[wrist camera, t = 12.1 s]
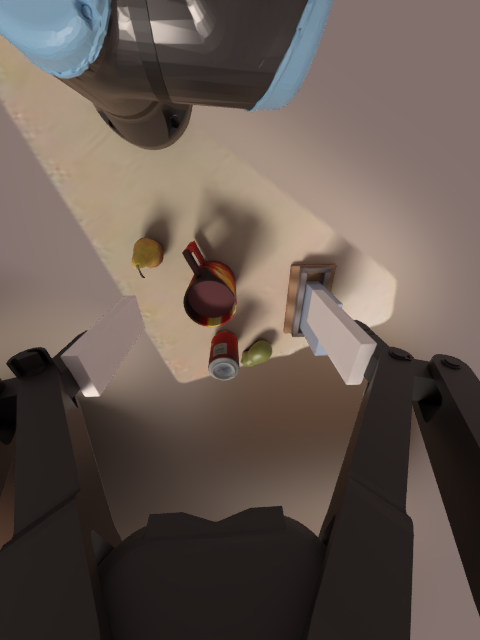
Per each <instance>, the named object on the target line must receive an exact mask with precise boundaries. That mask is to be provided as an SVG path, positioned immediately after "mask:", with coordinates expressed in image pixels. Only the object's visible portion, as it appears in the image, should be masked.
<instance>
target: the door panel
mask: <svg viewBox="0 0 480 640" xmlns="http://www.w3.org/2000/svg"><path fill="white" fill-rule="evenodd" d="M312 290H323V291H324V292H325V293H326V294H327V295H328V296H329V297H330V298H331V299H332V300H333V301H334V302H335V303H336V304H337V305H338V306H339V307H341V308H342V306H343V304H342V303H341V302H340V301H339V300H338V299H337V298H336V297H335V296H333V295H332V294H331V293H330V292H329V291H328V290H327V289H326V288H325V287H324V286H323V285H322V284H321V283H320V282H319V281H309V282H306V285H305V292H304V298H303V304H302V310H301V317H300V323H299V327H300V329H301V331H302V332H303V334H304V336H305V338H306V340H307V342H308V344H309V345H310V347H311V349H312V351H313V353H314V354H315V356H317V355H328V354H327V353H326V351H325V350H324V348H323V346H322V345H321V343H320V342H319V340H318V338H317V337H316V335H315V334H314V332H313V330H312V329H311V327H310V326H309V324H308V322H307V318H308V312H309V307H310V301H311V296H312Z"/></svg>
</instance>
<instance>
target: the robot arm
mask: <svg viewBox="0 0 480 640" xmlns="http://www.w3.org/2000/svg"><path fill="white" fill-rule="evenodd" d="M332 2H333V0H0V34H1V35H2V36H3V37H4V38H5V39H6V40H7V41H9V42H10V43H11V44H12V45H13V46H15V47H16V48H17V49H18V50H19V51H20V52H22V53H23V54H24V56H25V57H26V58H27V59H28V60H30V61H31V62H32V63H33V64H34V65H36V66H37V67H39V68H40V69H41V70H43V71H46V72H47V73H48V74H50V75H53V76H55V77H56V78H58V79H59V80H60V81H62V82H63V83H65V84H66V85H68V86H69V87H71V88H72V89H74V90H75V91H77V92H78V93H79V94H81V95H82V96H84V97H85V98H87V99H88V100H90V101H91V102H92V103H93V104H94V106H95V108H96V110H97V111H98V113H99V114H100V116H101V117H102V118H103V120H104V121H105V122H106V123H107V124H108V125H109V127H110V128H111V129H112V130H113V131H114V132H116V133H117V134H118V135H119V136H120V137H122V138H123V139H125V140H126V141H128V142H130V143H132V144H134V145H136V146H138V147H140V148H144V149H149V150H158V149H163V148H166V147H168V146H170V145H172V144H173V143H175V142H176V141H177V140H178V139H179V138H180V137H181V135H182V134H183V132H184V131H185V129H186V127H187V125H188V122H189V119H190V116H191V111H192V105H203V106H215V107H227V108H239V109H244V110H245V111H247V112H252V111H256V110H278V109H280V108H282V107H284V106H285V105H287V104H288V103H289V102H290V101H291V100H292V99H293V98H294V97H295V95H296V94H297V92H298V91H299V89H300V87H301V85H302V84H303V82H304V80H305V77H306V75H307V73H308V71H309V69H310V66H311V64H312V62H313V59H314V56H315V54H316V51H317V49H318V46H319V43H320V40H321V37H322V35H323V32H324V29H325V26H326V23H327V19H328V16H329V13H330V10H331V6H332ZM307 322H308V324H309V326H310V327H311V329H312V330H313V332H314V334H315V335H316V337H317V338H318V340H319V342H320V343H321V345H322V346H323V348H324V350H325V351H326V353H327V354H328V356H329V358H330V359H331V361H332V362H333V364H334V365H335V367H336V369H337V370H338V372H339V374H340V375H341V377H342V378H343V380H344V381H345V383H346V385H355V384H361V382H362V379H363V377H365V378H366V379H367V381H368V384H367V386H366V388H365V390H364V393H363V395H362V396H363V398H362V402H361V405H360V408H359V411H358V415H357V418H356V421H355V425H354V428H353V431H352V434H351V437H350V440H349V444H348V447H347V450H346V454H345V457H344V460H343V464H342V466H341V470H340V473H339V476H338V479H337V483H336V486H335V489H334V492H333V496H332V499H331V502H330V505H329V509H328V511H327V514H326V516H325V519H324V522H323V524H322V527H321V530H320V533H319V537H317V536H316V535H315V534H314V533H313V532H312V531H310V530H309V529H308V528H307V527H306V526H304V525H303V524H301V523H300V522H298V521H296V520H294V519H292V518H290V517H287V516H284V515H283V509H282V506H274V507H258V508H249V509H247V510H244V511H242V512H240V513H237V514H235V515H232V516H230V517H228V518H226V519H223V520H221V521H218V522H213V521H210V520H206V519H203V518H200V517H196V516H193V515H190V514H186V513H183V512H180V513H163V514H150V515H149V519H148V523H147V526H145V527H143V528H141V529H139V530H137V531H135V532H134V533H133V534H131V535H130V536H128V537H127V538H126V539H124V540H123V541H122V540H121V537H120V535H119V533H118V531H117V529H116V527H115V525H114V522H113V519H112V516H111V512H110V509H109V505H108V502H107V499H106V495H105V491H104V488H103V484H102V481H101V477H100V474H99V471H98V467H97V463H96V460H95V457H94V453H93V449H92V446H91V443H90V439H89V436H88V432H87V429H86V425H85V422H84V418H83V415H82V411H81V408H80V404H79V401H78V399H77V397H76V396H75V395H76V394H77V392H78V391H79V390H80V389H81V391H82V393H83V394H84V396H85V397H91V396H100V395H101V394H102V392H103V391H104V389H105V388H106V386H107V385H108V383H109V381H110V380H111V378H112V377H113V375H114V374H115V372H116V371H117V369H118V368H119V366H120V364H121V363H122V361H123V360H124V358H125V357H126V355H127V354H128V352H129V351H130V349H131V348H132V346H133V345H134V343H135V342H136V340H137V339H138V337H139V335H140V334H141V332H142V331H143V329H144V328H145V326H144V322H143V319H142V316H141V313H140V309H139V306H138V303H137V299H136V296H124V297H123V298H122V299H121V300H120V301H119V302H118V303H117V304H116V305H115V306H114V307H112V308H111V309H110V310H109V311H108V312H107V313H106V314H105V315H104V316H103V317H102V318H101V319H100V320H99V321H97V322H96V323H95V324H94V325H93V326H92V327H91V328H90V329H89V330H87V331H85V332H83V333H81V334H79V335H78V336H77V337H75V338H74V339H73V340H72V342H70V343H69V344H68V345H67V346H66V347H65V348H63V349H62V350H61V351H60V352H59V353H58V354H57V355H56V356H55V357H53V358H51V357H50V355H49V354H48V352H47V350H46V349H45V348H42V347H38V348H32V349H28V350H25V351H23V352H20V353H18V354H16V355H15V356H13V357H11V358H10V359H9V360H8V362H7V363H6V364H7V366H8V367H9V368H10V369H11V371H12V372H13V373H14V374H15V376H16V378H12V379H8V380H3V381H2V380H1V379H0V496H1V494H2V490H3V488H4V485H5V483H6V480H7V477H8V474H9V471H10V469H11V466H12V463H13V461H14V458H15V455H16V463H15V509H14V534H13V537H12V539H11V540H10V541H9V542H7V543H6V544H4V545H3V547H2V548H1V550H0V640H410V625H411V624H410V623H411V596H412V567H413V538H414V533H413V522H412V519H411V517H409V516H408V515H407V514H406V492H407V476H408V461H409V445H410V430H411V414H412V405H413V408H414V412H415V415H416V418H417V421H418V424H419V428H420V431H421V434H422V437H423V440H424V443H425V447H426V450H427V453H428V456H429V459H430V463H431V466H432V469H433V472H434V475H435V478H436V482H437V485H438V488H439V491H440V494H441V497H442V501H443V504H444V507H445V510H446V513H447V516H448V520H449V523H450V526H451V529H452V532H453V536H454V539H455V542H456V545H457V548H458V551H459V555H460V558H461V561H462V564H463V567H464V570H465V574H466V577H467V580H468V583H469V586H470V589H471V592H472V596H473V599H474V602H475V605H476V607H477V610H478V613H479V616H480V381H479V379H478V378H477V377H476V375H475V374H474V373H473V371H472V370H471V368H470V367H469V366H468V365H467V364H465V363H464V362H462V361H461V360H460V359H457V358H455V357H452V356H448V355H442V354H437V355H434V356H433V357H432V359H431V360H430V362H428V361H423V360H416V359H414V357H413V356H412V355H411V354H409V353H408V352H406V351H404V350H402V349H399V348H395V347H389V346H388V345H387V344H386V343H385V342H384V341H383V340H382V339H380V338H379V337H378V336H377V335H376V334H375V333H374V332H373V331H372V330H371V329H370V328H369V327H368V326H367V325H365V324H364V323H362V322H360V321H358V320H353V319H352V318H351V317H350V316H349V315H348V314H347V313H346V312H345V311H344V310H343V309H342V308H341V307H339V306H338V305H337V304H336V303H335V302H334V301H333V300H332V299H331V298H330V297H329V296H328V295H327V294H326V293H325V292H324V291H323V290H312V296H311V301H310V307H309V312H308V318H307Z"/></svg>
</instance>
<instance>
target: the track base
mask: <svg viewBox="0 0 480 640" xmlns="http://www.w3.org/2000/svg"><path fill="white" fill-rule="evenodd" d="M335 270H336V265H335V264H320V265H291V270H290V279H289V287H288V296H287V304H286V313H285V322H284V330H283V331H284V333H291V334H292V337H305V336H304V334H303V332H302V331H301V329H300V327H299V323H300V317H301V310H302V304H303V298H304V292H305V285H306V282H309V281H319V282H320V283H321V284H322V285H323V286H324V287H325V288H326V289H327V290H328V291H329V292H330V291H331V287H332V283H333V278H334V274H335Z"/></svg>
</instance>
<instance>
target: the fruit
mask: <svg viewBox="0 0 480 640" xmlns="http://www.w3.org/2000/svg"><path fill="white" fill-rule="evenodd" d="M162 261H163V250H162V247H161V245H160V244H159V243H157V242H156V241H154V240H152V239H149V238H141V239H139V240H138V241H137V242H136V243H135V245H134V249H133V257H132V265H133V266H134V267H135V268H136V269H138V270H139V273H140V275H141V277H142V278H145V277H144V276H143V275H142V273H141V271H140V269H139V268H143V267H149V268H153V267H156V266H158V265H159V264H161V262H162Z"/></svg>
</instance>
